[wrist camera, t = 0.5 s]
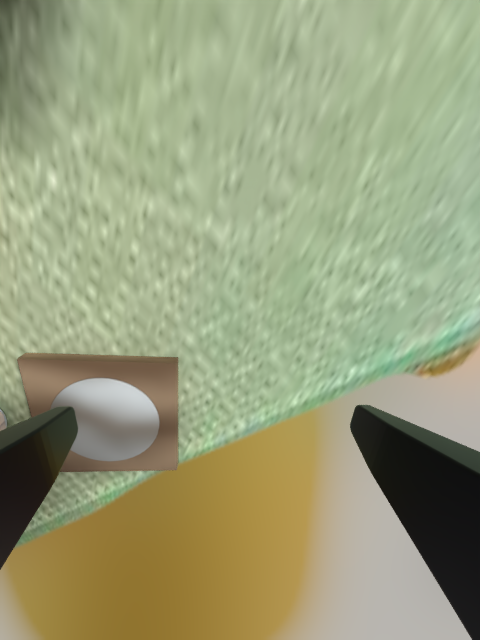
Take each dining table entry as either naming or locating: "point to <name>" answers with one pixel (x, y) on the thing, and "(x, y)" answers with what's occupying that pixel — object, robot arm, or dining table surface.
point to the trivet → (110, 407)
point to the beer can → (2, 420)
